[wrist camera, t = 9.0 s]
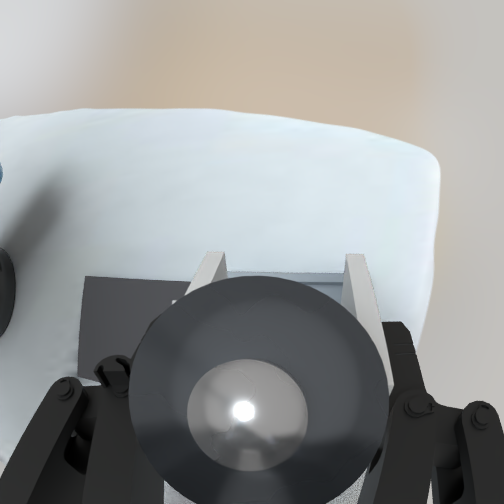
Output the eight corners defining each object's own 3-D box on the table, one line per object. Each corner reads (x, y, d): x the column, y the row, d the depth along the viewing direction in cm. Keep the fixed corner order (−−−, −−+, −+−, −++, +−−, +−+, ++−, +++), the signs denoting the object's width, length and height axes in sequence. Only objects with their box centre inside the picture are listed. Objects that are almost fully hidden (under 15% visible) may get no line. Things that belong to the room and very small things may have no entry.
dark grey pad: (80, 375, 32) (76, 376, 31) (88, 276, 35) (84, 275, 34) (188, 398, 29) (186, 400, 29) (196, 282, 32) (193, 281, 32)
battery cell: (233, 406, 16) (115, 503, 4) (238, 312, 17) (121, 261, 6) (330, 411, 15) (376, 536, 4) (336, 316, 16) (405, 267, 5)
